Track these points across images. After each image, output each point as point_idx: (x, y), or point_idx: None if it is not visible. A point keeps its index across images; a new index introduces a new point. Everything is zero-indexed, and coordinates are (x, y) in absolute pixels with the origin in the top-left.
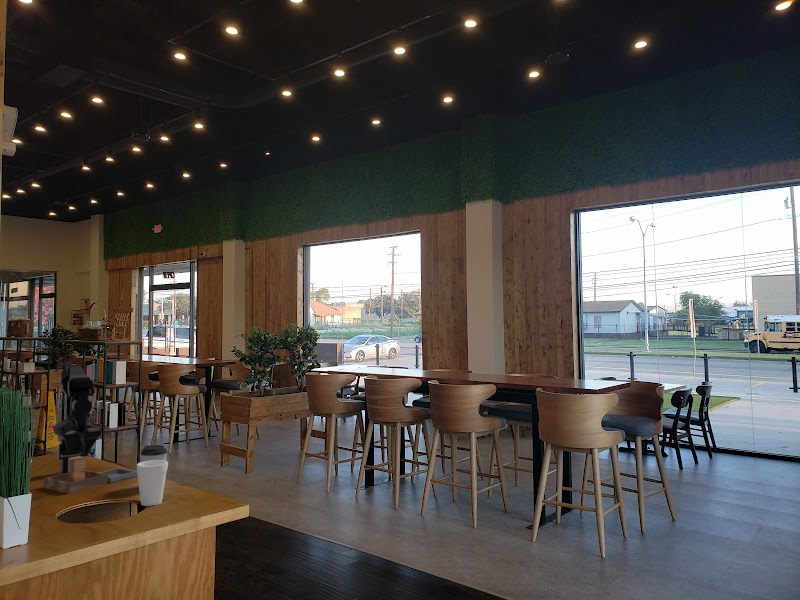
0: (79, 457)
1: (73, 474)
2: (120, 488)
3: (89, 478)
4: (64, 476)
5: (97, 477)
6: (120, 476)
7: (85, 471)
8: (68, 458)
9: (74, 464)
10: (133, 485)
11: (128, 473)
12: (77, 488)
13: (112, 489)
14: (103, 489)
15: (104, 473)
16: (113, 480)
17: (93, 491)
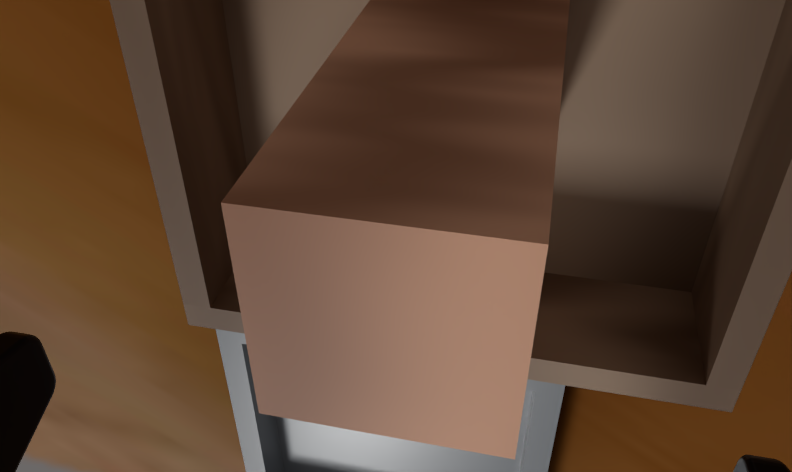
0: (376, 383)
1: (368, 42)
2: (41, 215)
3: (144, 108)
4: (790, 105)
5: (167, 205)
6: (235, 394)
7: (641, 363)
8: (539, 239)
9: (282, 138)
10: (68, 316)
11: (247, 463)
12: None
13: (54, 163)
14: (118, 125)
15: (525, 442)
16: None
17: (110, 20)
